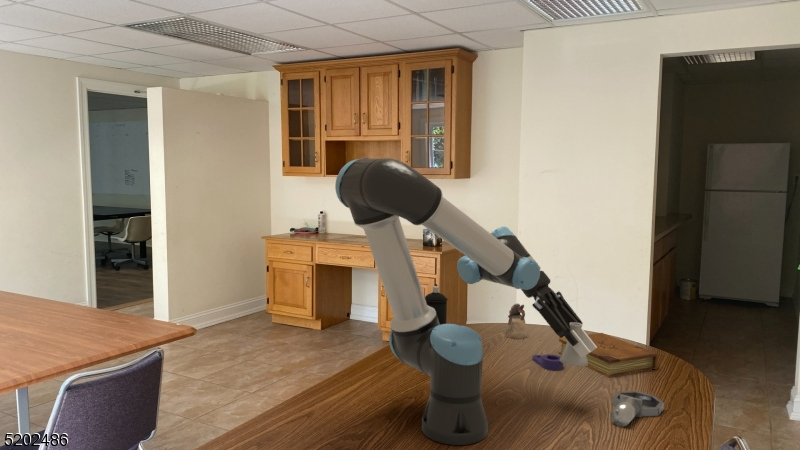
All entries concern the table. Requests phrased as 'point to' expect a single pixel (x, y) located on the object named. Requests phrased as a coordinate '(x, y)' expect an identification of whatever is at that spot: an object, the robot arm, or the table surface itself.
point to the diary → (617, 356)
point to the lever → (548, 362)
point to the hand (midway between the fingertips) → (589, 352)
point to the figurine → (516, 323)
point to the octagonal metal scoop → (634, 406)
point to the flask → (573, 350)
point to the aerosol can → (438, 304)
